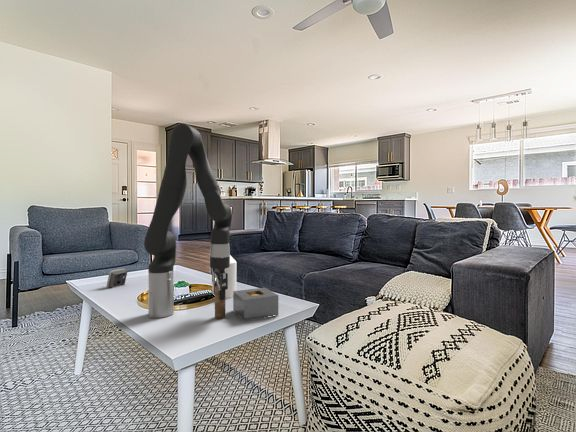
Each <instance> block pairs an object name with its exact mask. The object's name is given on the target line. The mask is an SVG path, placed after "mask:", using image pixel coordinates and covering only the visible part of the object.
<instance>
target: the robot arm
mask: <svg viewBox="0 0 576 432" xmlns="http://www.w3.org/2000/svg"><path fill="white" fill-rule="evenodd" d="M188 156H189V158H190V159H191V162H192V165H193V169H194V174H195V180H196V182H197V186H198V188H199V190H200V192H201V194H202V196H203V199H204V204H205V208H206V209H205V210H206V212H207V214H208V216H209V218H210V219H211V220H212V221H213V222H214V226H213V228H212V229H211V232H210V247H209V267H210V269H211V283H212V282H213V285H214V294H215V286H218V285H219V300H225V301H226V298H225V290H226V289H228V274H227V273H225V268H229V266H230V255H231V248H230V230H231V225H232V218H233V212H232V208H231V206H230V205H229V204H227V203H224V202H223V199H222V197H221V195H222V190H221V188H220V185H219V183H218V180H217V179H216V177H215V175H214V172H213V169H212V167H211V165H210V162H209V159H208V157H207V153H206V149H205V144H204V142H203V138H202V134H201V133H200V132H199V130H197V129H196V128H194V127H193V126H191V125H189V124H186V123H179V124H177V125H176V126H175V127H173V129H172V132H171V134H170V140H169V146H168V154H167V159H166V164H165V168H164V170H163V171H164V172H163V177H162V179H161V182H160V185H159V186H160V187H159V189H158V196H157V200H156V203H155V206H154V210H153V214H152V217H151V221H150V224H149V225H148V228H147V231H146V234H145V236H144V241H143V242H144V243H143V245H144V250H145V252H146V253H147V254H149V255H150V256H153V258H152V261H151V262H150V263H149V264H148V267H147V268H148V269H147V271H148V272H147V273H148V290H147V295H148V296H147V297H148V298H147V300H148V303H147V304H148V309H147V310H148V311H147V312H148V313H147V314H148V318H149V319H151V318H155V319H156V318H157V319H159V318H165V317H166V318H167V317H169V316H172V315H174V312H175V310H174V309H175V306H174V301H175V300H174V299H175V298H174V297H175V296H174V295H175V293H174V291H175V290H174V289H175V288H174V285H175V284H174V282H175V281H174V266H175V264H176V256H177V255H176V254H177V245H176V244H177V241H176V237H175V235H174V234H173V232H171V231H170V230H169V226H170V224H171V221H172V219H173V217H174V216H175V215H176V213H177V212H178V211H179V208H180V207H181V205H182V203H183V200H184V198H185V194H186V189H187V172H186V163H187V159H188ZM222 285H224V286H222Z"/></svg>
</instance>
